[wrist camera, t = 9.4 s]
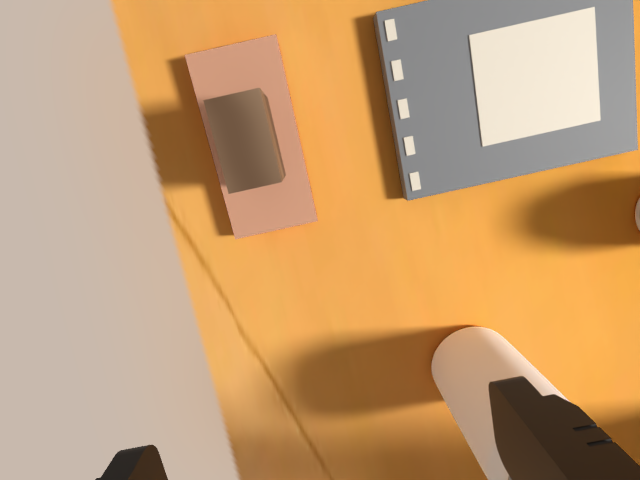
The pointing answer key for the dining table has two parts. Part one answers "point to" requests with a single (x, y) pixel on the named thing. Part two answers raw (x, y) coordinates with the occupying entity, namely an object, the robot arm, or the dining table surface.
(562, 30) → the grey slab
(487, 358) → the can
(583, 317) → the dining table surface
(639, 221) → the supplement bottle
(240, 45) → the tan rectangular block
